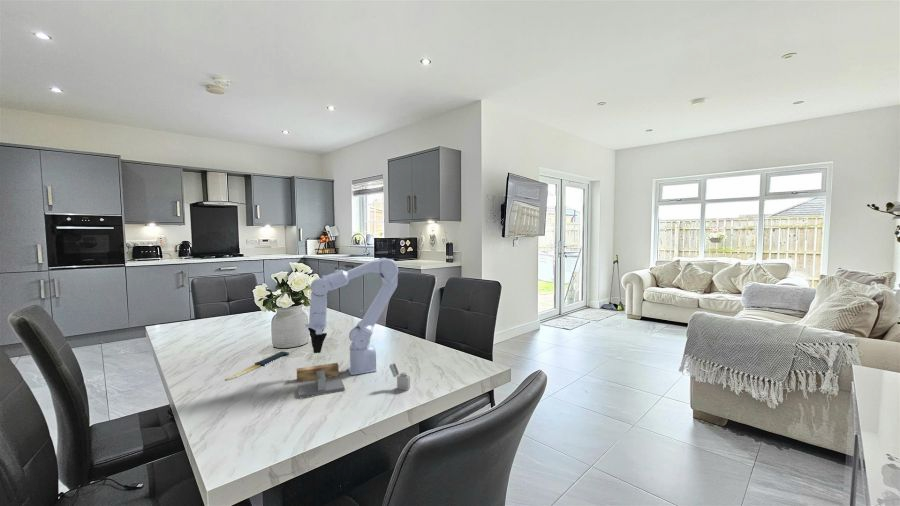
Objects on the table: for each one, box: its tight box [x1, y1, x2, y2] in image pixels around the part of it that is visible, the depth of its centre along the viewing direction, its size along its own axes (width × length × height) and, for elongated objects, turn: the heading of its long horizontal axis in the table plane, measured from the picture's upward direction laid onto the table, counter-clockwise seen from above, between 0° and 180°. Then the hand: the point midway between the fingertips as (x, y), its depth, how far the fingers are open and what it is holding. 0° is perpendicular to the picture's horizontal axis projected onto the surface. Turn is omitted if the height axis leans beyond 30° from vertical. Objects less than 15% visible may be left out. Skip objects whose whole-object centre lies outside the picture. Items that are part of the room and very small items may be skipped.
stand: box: [297, 371, 346, 399], centre depth 122 cm, size 14×8×5 cm, turn 114°
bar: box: [296, 362, 340, 382], centre depth 133 cm, size 14×3×4 cm, turn 115°
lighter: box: [389, 362, 411, 392], centre depth 122 cm, size 7×2×8 cm, turn 66°
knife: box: [225, 351, 290, 381], centre depth 145 cm, size 4×2×30 cm
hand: (316, 349), depth 132 cm, fingers open, 7 cm apart
